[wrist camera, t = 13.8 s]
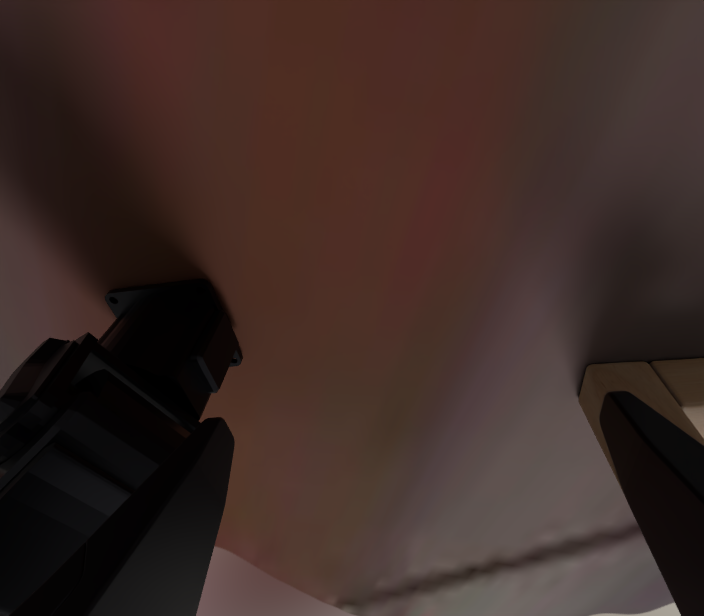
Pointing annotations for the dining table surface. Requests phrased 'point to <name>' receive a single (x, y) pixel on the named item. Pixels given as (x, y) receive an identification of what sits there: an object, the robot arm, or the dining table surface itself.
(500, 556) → the dining table surface
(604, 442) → the wooden block
